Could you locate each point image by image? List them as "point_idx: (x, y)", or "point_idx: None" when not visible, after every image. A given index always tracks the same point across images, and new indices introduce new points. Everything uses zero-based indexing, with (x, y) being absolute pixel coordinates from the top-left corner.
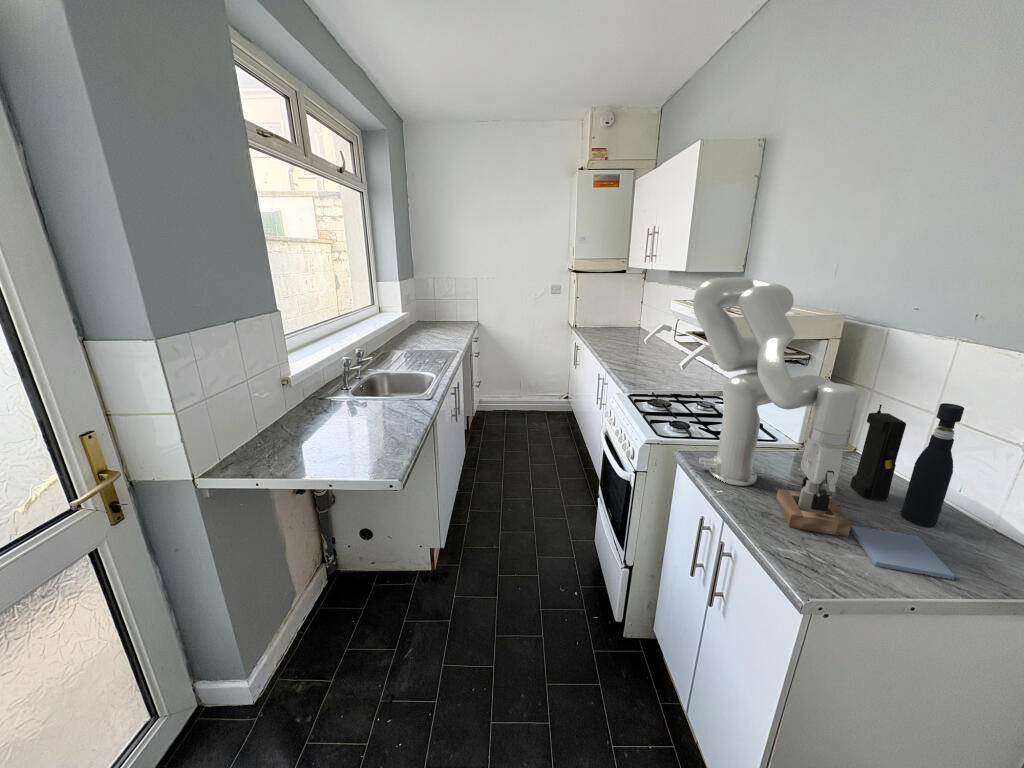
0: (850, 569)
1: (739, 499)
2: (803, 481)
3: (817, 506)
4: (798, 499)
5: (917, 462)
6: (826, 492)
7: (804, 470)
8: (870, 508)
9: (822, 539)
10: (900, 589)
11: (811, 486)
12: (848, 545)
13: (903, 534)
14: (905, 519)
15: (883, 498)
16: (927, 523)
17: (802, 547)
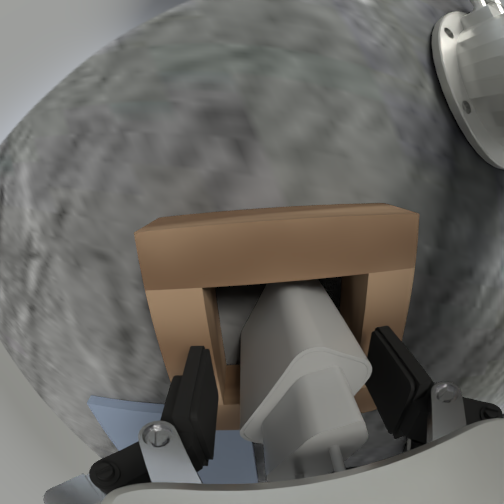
0: (42, 340)
1: (327, 42)
2: (412, 370)
3: (173, 380)
4: (358, 298)
5: None
6: (78, 479)
7: (407, 483)
8: (374, 439)
9: (133, 321)
10: (49, 396)
11: (299, 426)
12: (144, 378)
13: (253, 473)
14: (334, 472)
15: (405, 451)
16: None
17: (55, 244)
